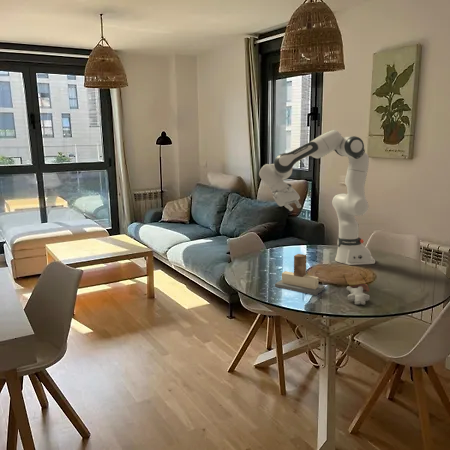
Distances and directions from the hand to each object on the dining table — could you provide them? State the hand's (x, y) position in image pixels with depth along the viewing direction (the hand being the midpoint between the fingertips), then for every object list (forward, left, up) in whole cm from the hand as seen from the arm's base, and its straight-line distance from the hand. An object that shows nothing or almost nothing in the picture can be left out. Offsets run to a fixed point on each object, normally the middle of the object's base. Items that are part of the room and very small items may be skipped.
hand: (296, 208), depth 239 cm
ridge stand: (0, +29, -34) cm, 45 cm away
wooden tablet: (-29, +20, -35) cm, 50 cm away
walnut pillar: (-1, +29, -28) cm, 40 cm away
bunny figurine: (-25, +43, -35) cm, 61 cm away
